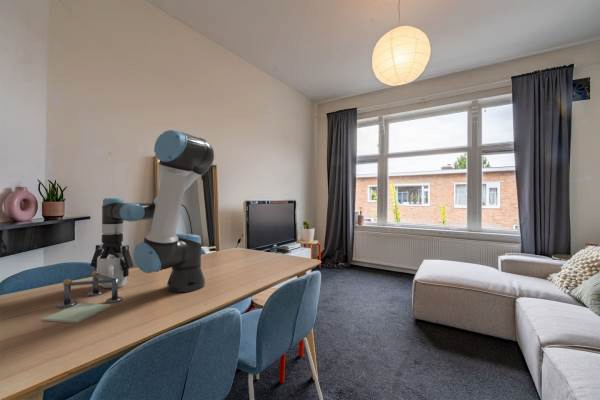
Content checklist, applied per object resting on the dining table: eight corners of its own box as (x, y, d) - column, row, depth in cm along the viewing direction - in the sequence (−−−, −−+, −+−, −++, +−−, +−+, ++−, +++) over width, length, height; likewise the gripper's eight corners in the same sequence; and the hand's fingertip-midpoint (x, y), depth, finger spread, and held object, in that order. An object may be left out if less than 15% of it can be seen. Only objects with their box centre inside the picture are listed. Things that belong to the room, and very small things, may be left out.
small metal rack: (135, 293, 101) (136, 270, 101) (100, 310, 85) (100, 283, 85) (95, 291, 103) (95, 268, 103) (53, 307, 87) (53, 280, 87)
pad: (110, 306, 89) (110, 304, 89) (77, 322, 77) (77, 320, 77) (80, 304, 90) (80, 303, 90) (42, 320, 78) (42, 318, 78)
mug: (127, 289, 105) (127, 258, 105) (93, 294, 99) (93, 262, 99) (128, 280, 118) (128, 252, 118) (98, 284, 112) (98, 255, 112)
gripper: (143, 233, 112) (142, 282, 112) (96, 231, 114) (94, 279, 114) (130, 235, 105) (129, 287, 105) (80, 233, 107) (78, 284, 107)
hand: (111, 283), depth 109 cm, fingers closed on mug, 11 cm apart
